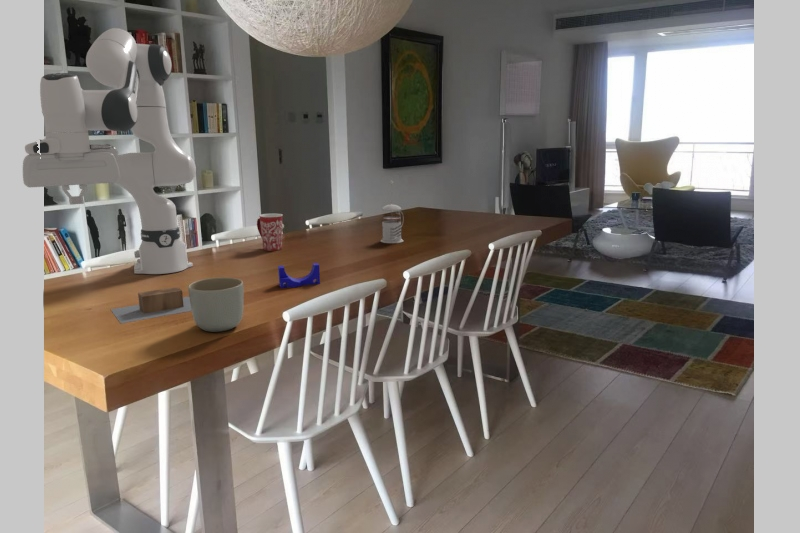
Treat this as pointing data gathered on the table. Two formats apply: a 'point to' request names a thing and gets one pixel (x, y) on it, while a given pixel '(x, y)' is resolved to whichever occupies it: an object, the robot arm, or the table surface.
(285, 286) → the blue cradle bracket
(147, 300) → the walnut block
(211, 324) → the planter
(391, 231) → the french press
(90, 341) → the table surface
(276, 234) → the mug
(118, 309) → the mat
